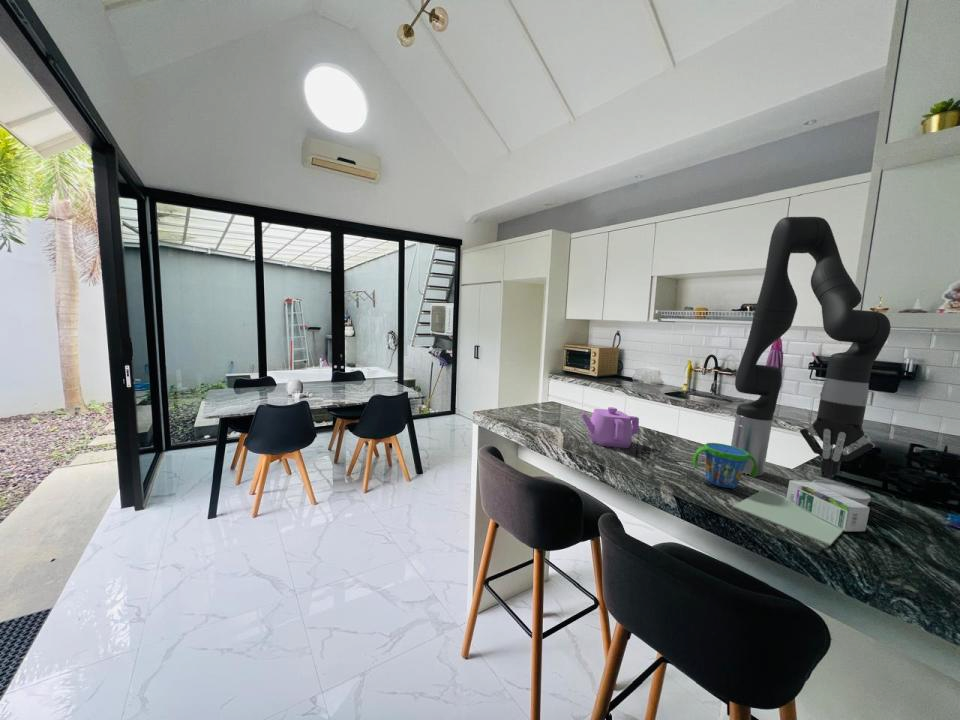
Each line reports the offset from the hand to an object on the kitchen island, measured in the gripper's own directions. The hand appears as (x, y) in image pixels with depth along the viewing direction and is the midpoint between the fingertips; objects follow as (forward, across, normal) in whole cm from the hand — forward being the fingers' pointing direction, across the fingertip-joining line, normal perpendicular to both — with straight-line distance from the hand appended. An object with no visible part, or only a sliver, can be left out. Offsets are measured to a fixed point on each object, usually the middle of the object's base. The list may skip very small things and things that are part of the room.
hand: (828, 475), depth 88 cm
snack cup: (+12, +22, -3) cm, 25 cm away
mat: (+12, +5, +1) cm, 13 cm away
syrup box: (+8, -6, -2) cm, 10 cm away
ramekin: (+12, 0, -16) cm, 20 cm away
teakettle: (+12, +61, -6) cm, 63 cm away
